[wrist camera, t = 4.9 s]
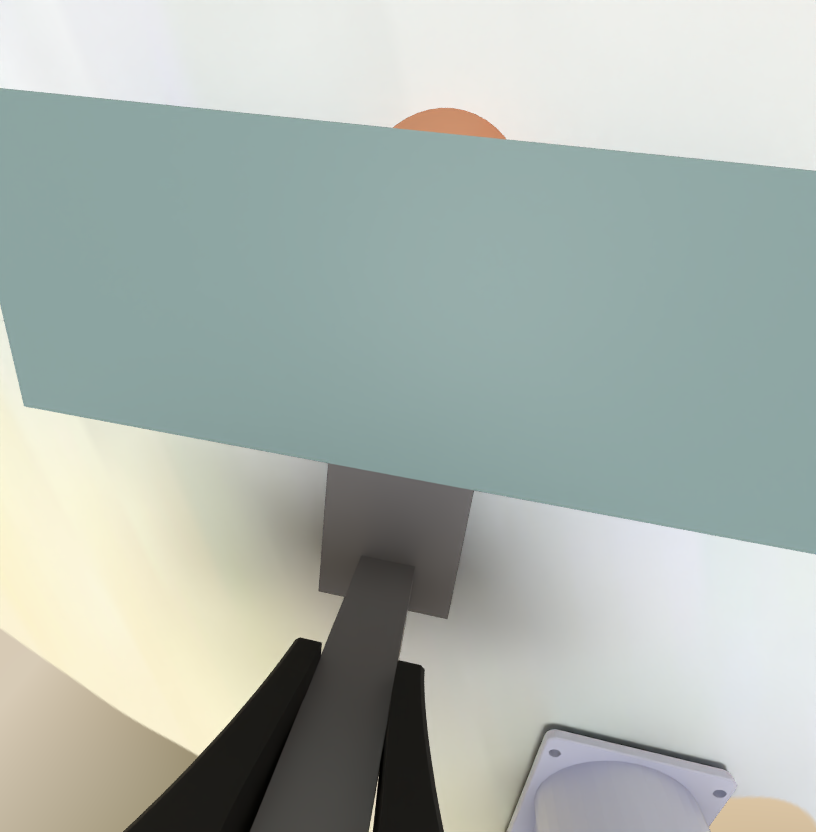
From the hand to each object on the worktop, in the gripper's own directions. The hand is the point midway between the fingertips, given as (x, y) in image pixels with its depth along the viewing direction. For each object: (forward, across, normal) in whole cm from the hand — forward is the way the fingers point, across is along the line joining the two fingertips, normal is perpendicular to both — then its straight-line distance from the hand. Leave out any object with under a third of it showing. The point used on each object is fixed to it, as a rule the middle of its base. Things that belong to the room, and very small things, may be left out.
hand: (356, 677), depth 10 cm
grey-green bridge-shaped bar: (+6, 0, -9) cm, 11 cm away
